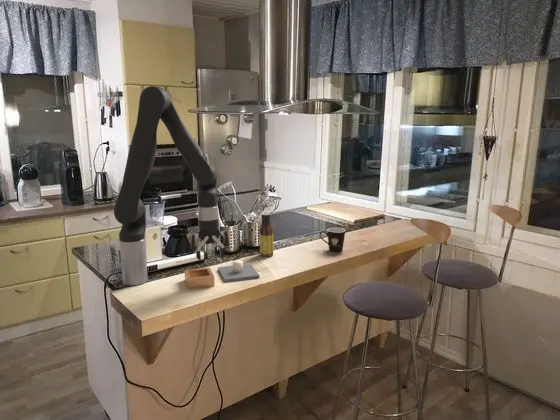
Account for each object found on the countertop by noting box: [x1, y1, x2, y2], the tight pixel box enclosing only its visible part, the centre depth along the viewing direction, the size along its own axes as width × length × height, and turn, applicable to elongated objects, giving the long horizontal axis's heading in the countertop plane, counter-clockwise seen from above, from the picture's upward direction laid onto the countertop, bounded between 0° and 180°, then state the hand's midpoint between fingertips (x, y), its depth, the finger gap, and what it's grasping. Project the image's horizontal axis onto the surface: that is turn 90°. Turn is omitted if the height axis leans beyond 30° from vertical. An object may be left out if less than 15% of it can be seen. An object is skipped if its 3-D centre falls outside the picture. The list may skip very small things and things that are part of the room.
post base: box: [217, 259, 260, 283], centre depth 177 cm, size 14×14×5 cm
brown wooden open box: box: [184, 267, 215, 290], centre depth 168 cm, size 10×10×4 cm
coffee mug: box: [319, 227, 347, 253], centre depth 209 cm, size 12×9×10 cm
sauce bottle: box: [259, 212, 275, 258], centre depth 199 cm, size 7×6×20 cm
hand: (210, 258), depth 168 cm, fingers open, 8 cm apart
